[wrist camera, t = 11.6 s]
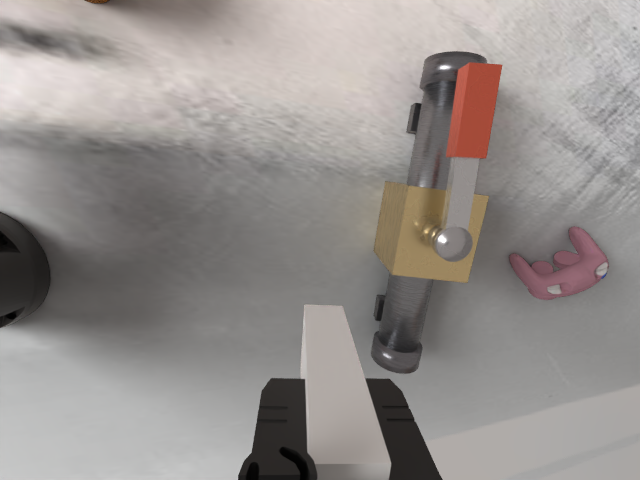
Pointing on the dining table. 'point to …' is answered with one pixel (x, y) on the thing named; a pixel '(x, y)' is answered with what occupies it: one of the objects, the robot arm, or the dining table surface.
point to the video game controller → (564, 269)
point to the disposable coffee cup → (97, 1)
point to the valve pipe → (420, 220)
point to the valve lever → (466, 155)
